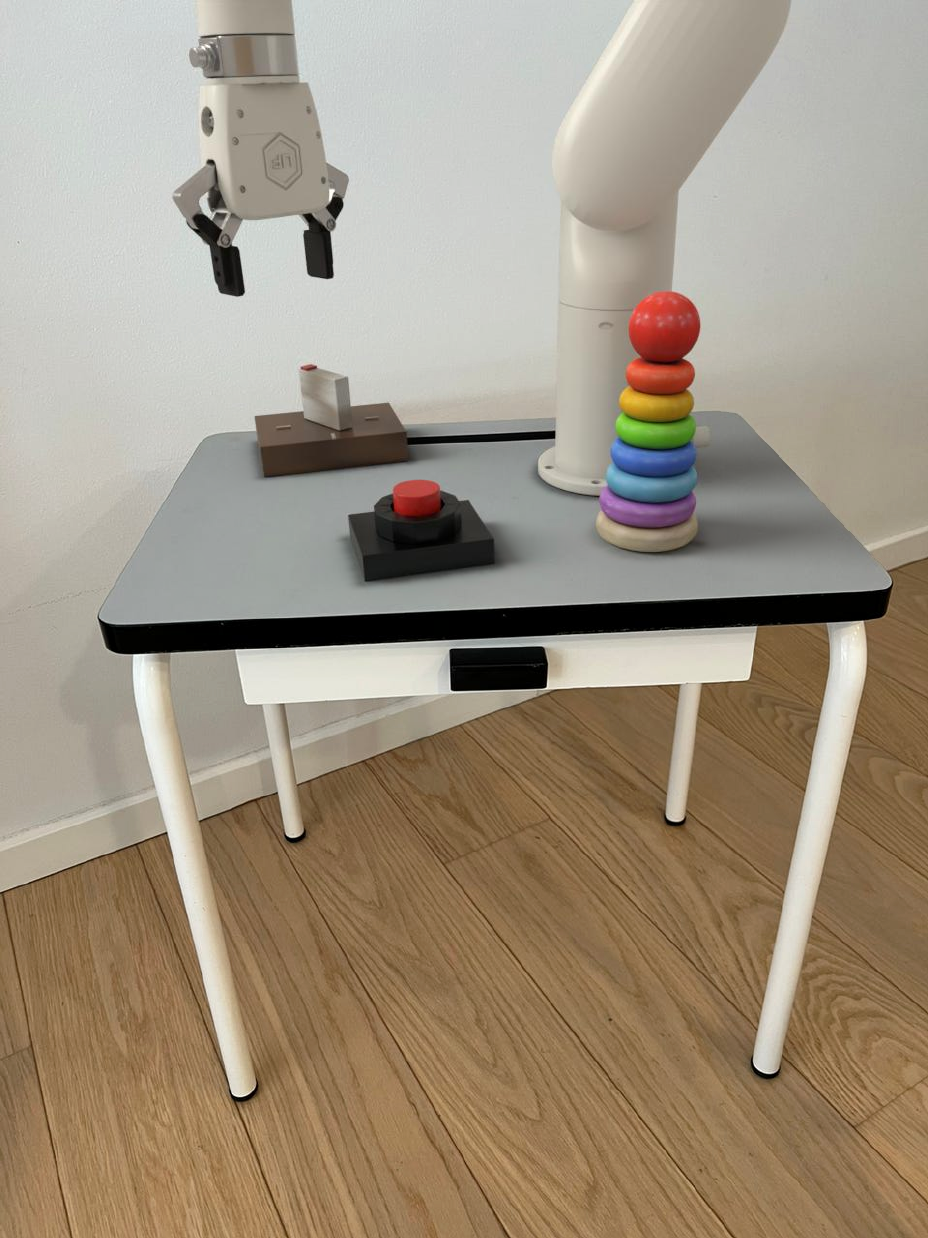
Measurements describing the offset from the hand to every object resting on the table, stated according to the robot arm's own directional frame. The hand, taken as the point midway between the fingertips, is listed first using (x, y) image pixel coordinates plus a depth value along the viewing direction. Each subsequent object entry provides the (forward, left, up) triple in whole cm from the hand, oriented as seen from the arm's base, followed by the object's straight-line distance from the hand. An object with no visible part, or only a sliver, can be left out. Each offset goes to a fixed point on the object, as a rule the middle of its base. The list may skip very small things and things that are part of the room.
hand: (277, 285), depth 85 cm
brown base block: (-3, -2, -17) cm, 17 cm away
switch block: (-7, +23, -17) cm, 30 cm away
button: (-7, +23, -13) cm, 28 cm away
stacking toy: (-25, +26, -17) cm, 40 cm away
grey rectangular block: (-3, -2, -14) cm, 14 cm away
